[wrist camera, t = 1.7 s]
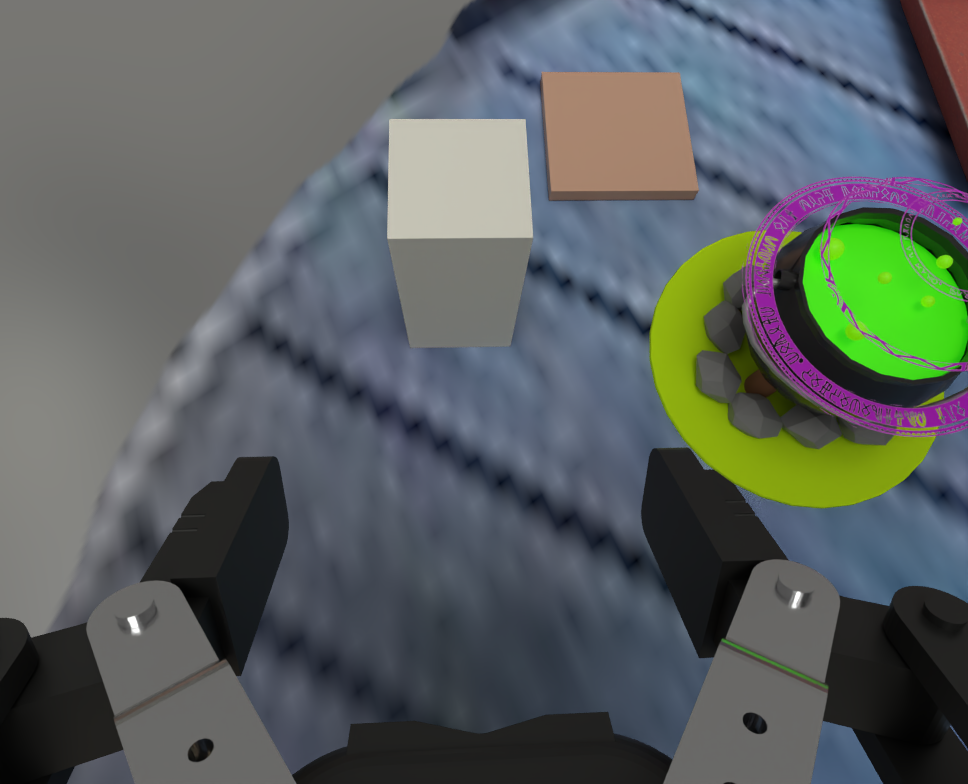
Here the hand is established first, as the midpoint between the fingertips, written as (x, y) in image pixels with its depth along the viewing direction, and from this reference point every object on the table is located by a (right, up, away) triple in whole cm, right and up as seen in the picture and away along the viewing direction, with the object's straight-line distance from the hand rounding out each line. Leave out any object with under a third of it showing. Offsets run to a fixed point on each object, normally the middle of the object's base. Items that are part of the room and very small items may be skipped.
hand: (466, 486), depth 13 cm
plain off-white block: (-1, +7, +18) cm, 19 cm away
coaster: (+8, +16, +21) cm, 28 cm away
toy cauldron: (+16, +4, +18) cm, 24 cm away
